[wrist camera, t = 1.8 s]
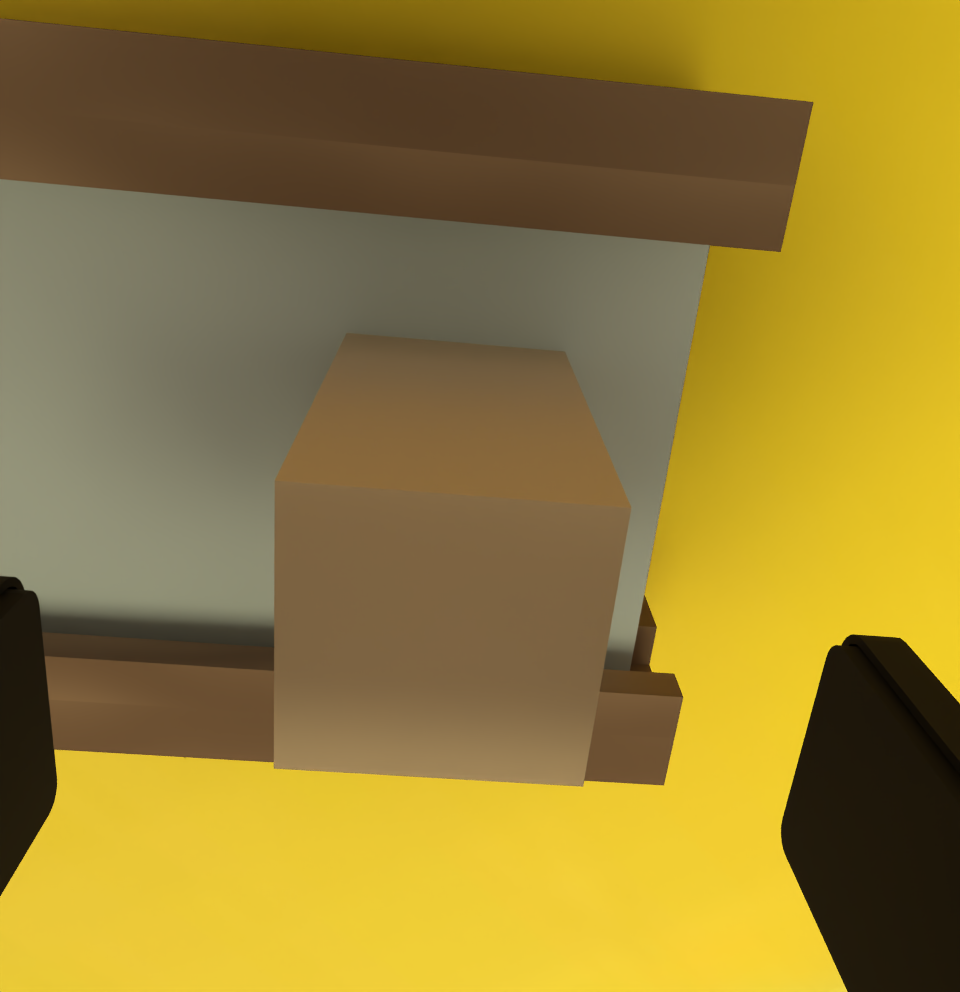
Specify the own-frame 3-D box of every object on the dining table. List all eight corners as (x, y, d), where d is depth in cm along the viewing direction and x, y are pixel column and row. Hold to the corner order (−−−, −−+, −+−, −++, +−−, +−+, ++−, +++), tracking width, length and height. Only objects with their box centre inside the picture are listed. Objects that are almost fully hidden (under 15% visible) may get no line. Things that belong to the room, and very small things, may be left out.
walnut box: (-56, 24, 19) (-301, -13, 13) (704, 102, 20) (812, 102, 14) (14, 576, 24) (-137, 737, 18) (613, 618, 25) (663, 785, 19)
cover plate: (-63, 119, 16) (-515, 133, 8) (704, 192, 17) (899, 266, 9) (3, 606, 20) (-268, 905, 12) (621, 648, 20) (712, 953, 13)
